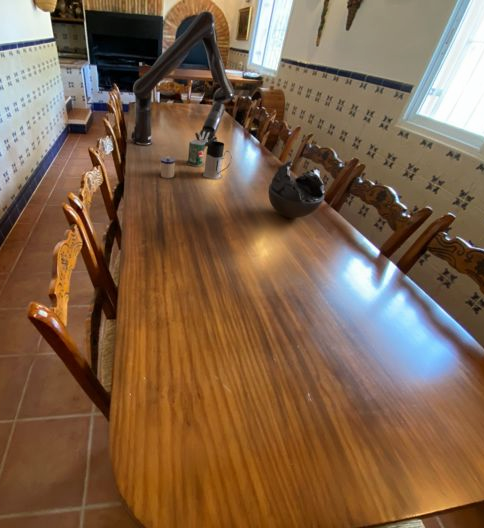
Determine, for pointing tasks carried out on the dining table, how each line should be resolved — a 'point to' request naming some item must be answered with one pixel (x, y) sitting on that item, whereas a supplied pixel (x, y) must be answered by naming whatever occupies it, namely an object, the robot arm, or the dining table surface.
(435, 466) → the dining table surface
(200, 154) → the canned tomato
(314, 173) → the broken dark shell
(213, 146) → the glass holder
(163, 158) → the salt pot
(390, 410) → the dining table surface
